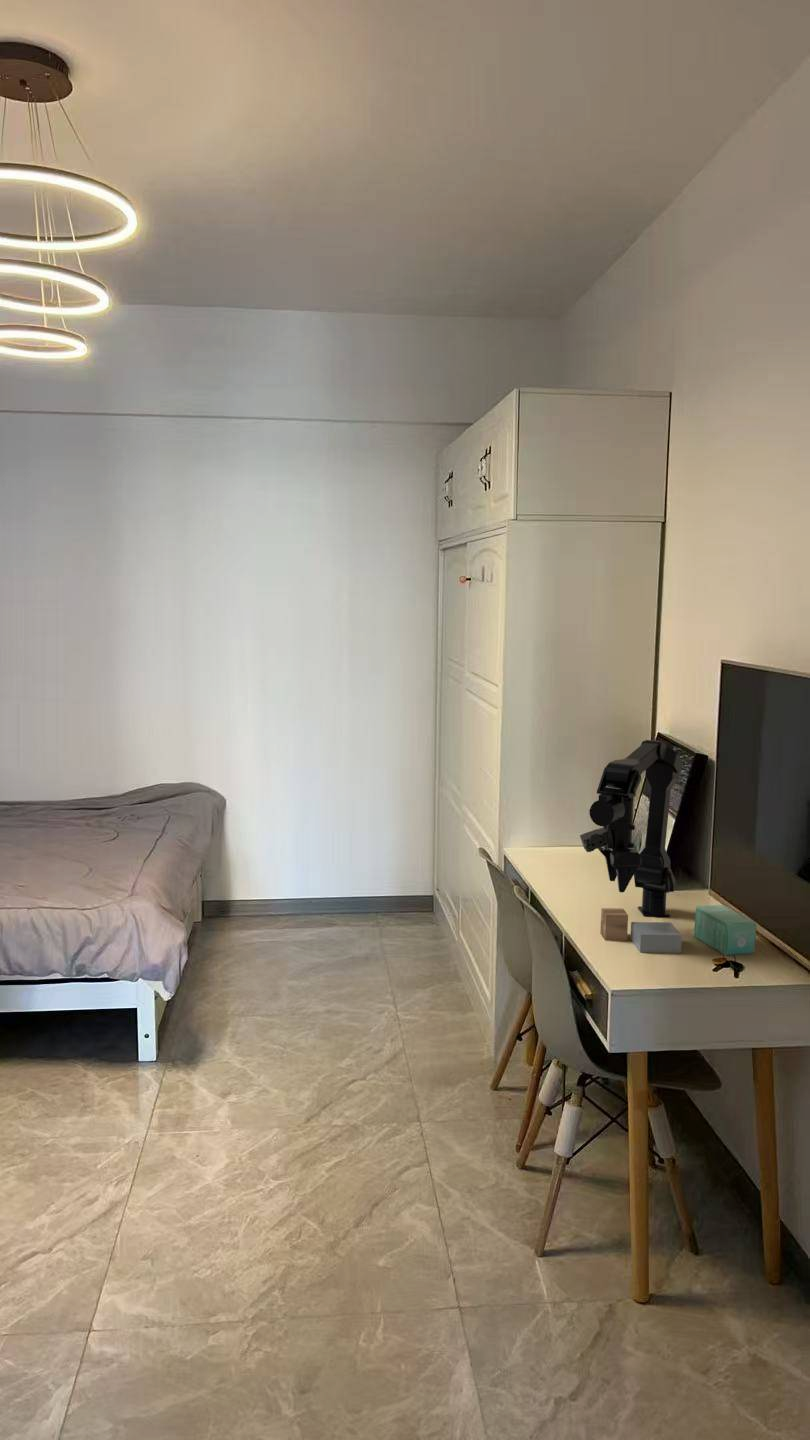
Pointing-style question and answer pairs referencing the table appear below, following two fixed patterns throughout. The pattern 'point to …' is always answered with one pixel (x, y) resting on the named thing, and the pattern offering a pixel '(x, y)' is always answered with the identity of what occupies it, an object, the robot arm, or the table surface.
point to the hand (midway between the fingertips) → (616, 886)
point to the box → (725, 930)
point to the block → (614, 924)
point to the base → (656, 937)
